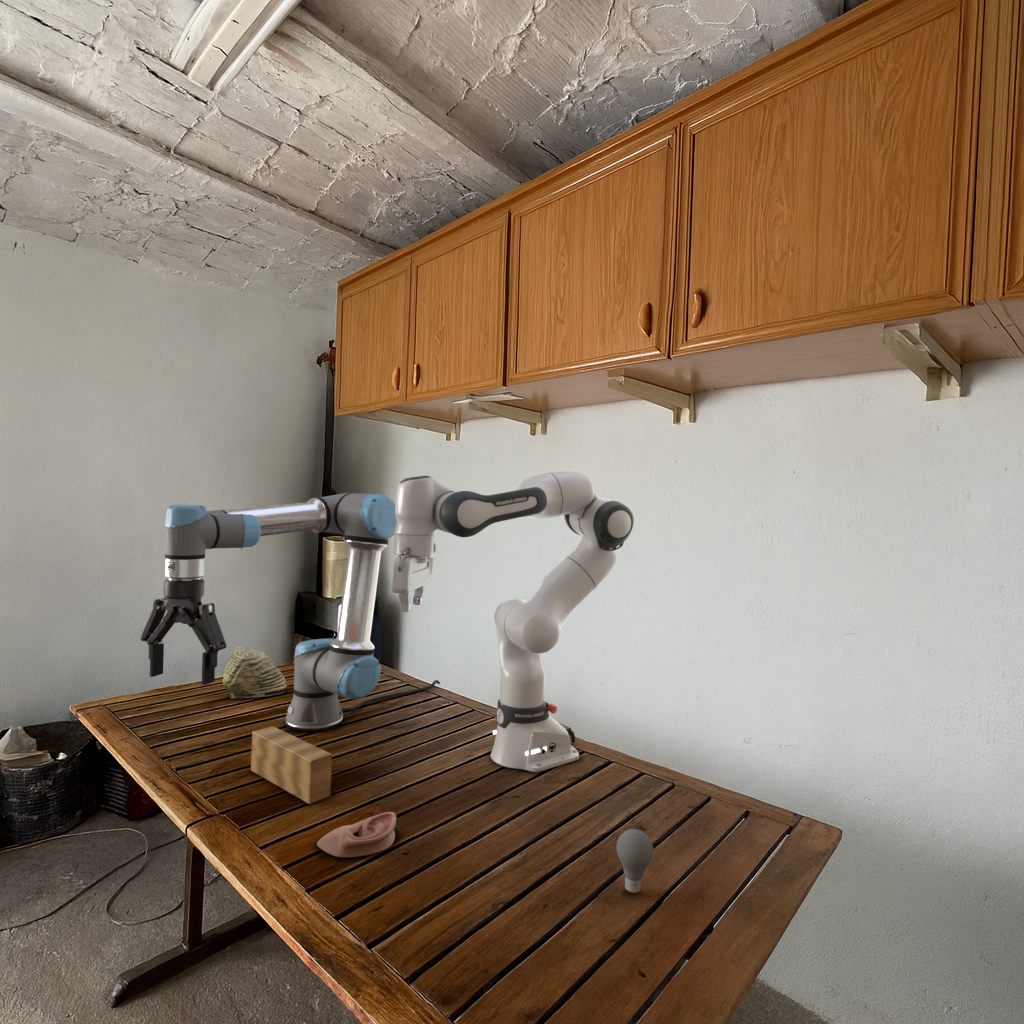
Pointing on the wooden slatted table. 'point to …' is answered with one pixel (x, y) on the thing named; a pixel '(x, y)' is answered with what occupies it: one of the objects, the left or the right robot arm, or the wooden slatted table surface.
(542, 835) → the wooden slatted table surface
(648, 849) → the light bulb
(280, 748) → the bar
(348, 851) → the anatomical model
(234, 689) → the fossil
